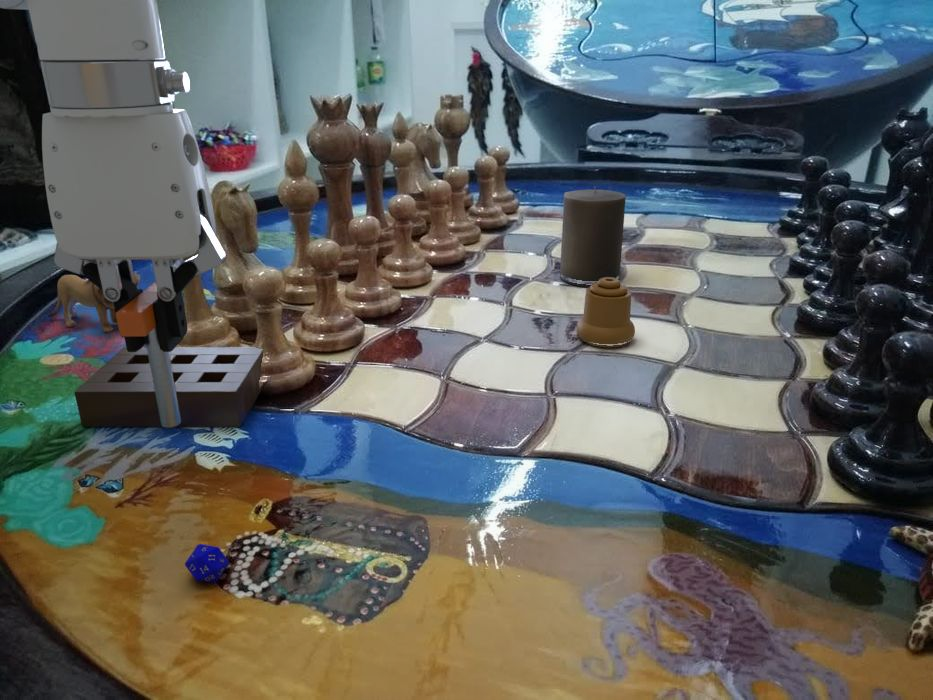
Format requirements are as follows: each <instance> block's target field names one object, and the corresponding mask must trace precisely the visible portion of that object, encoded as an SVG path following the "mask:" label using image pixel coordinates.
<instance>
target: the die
mask: <svg viewBox="0 0 933 700" xmlns="http://www.w3.org/2000/svg"><path fill="white" fill-rule="evenodd" d="M229 564H230V561H229V560H228V558H227V557H226V555H225V554H224V552H223V551H222V550H221V548H220V547H219V546H214V545H209V544H202V543H199V544H197V545H196V547H195V548H194V549H193V551H192V552H191V553H190V555H189V557H188V558H187V559H186V561H185V563H184V566H185V567H186V568H187V571H188V572H189V573H190V575H192V577H193V579H194V580H195V581H198V582H205V583H214V584H217V582H218V581H219V579H220V578H221V576H222V575H223V573H224V572H225V570H226V568H227V567H228V566H229Z"/></svg>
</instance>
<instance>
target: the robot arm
mask: <svg viewBox="0 0 933 700" xmlns="http://www.w3.org/2000/svg"><path fill="white" fill-rule="evenodd" d="M0 9H4V10H24V11H25V10H26V11H27V10H28V13H29V16H30V21H31V27H32V31H33V36H34V41H35V43H36V48H37V53H38V59H39V61H40V68H41V72H42V73H41V74H42V78H43V81H44V87H45V90H46V95H47V100H48V105H49V108H50V109H49V110H50V111H49V112H46V113H42V121H41V151H42V167H43V176H44V186H45V193H46V200H47V206H48V211H49V216H50V222H51V226H52V230H53V233H54V237H55V240H56V245H55V249H54V256H53V263H54V265H55V266H56V267H58V268H60V269H63V270H65V271H68V272H71V273H74V274H78V276H80V275H82V276H84V277H85V279H86V280H90V281H91V282H92V283H93V284H95V285H96V286H97V287H98V288H100V289H101V290H102V291H103V294H104V296H105V298H106V299H107V300H109V301H112V302H113V303H114V308H115V313H116V312H118V311H119V310H120V309H122V308H123V307H124V306H125V305H127V304H128V303H129V302H130V301H132V300H133V299H134V298H136V297H137V296H138V295H139V294H141V293H142V292H143V291H144V290H143V288H137V285H136V282H135V277H134V273H135V272H134V267H133V262H132V260H133V261H136V260H137V261H139V260H141V261H143V260H144V261H145V260H146V261H147V260H151V263H152V267H153V268H152V270H153V275H154V283H156V287H157V297H158V299H157V300H156V301H155V302H154V303H153V310H154V316H155V321H156V330H157V335H158V341H159V346H160V350H162V351H163V352H171V351H172V350H173V349H174V348H175V347H177V346H179V344H180V343H181V342H182V341H183V340H184V337H185V336H186V334H187V333H188V321H187V320H188V319H187V314H186V308H185V302H184V297H183V291H184V290H185V289H186V288H187V286H188V285H189V284H190V283H191V282H192V281H193V279H194V278H195V277H196V276H198V275H201V274H204V273H206V272H209V271H212V270H213V269H216V268H218V267H220V266H221V265H222V264H223V263H225V262H226V260H227V254H226V251H225V250H224V248H223V246H222V245H221V242H220V241H219V238H217V236H216V234H217V227H216V225H217V223H216V218H215V212H214V211H215V210H214V207H213V201H212V196H211V192H210V187H209V183H208V178H207V173H206V170H205V166H204V162H203V158H202V154H201V152H200V147H199V144H198V140H197V138H196V134H195V131H194V129H193V125H192V122H191V120H190V117H189V114H188V112H187V109H183V108H174V105H173V102H175V101H176V97H175V96H176V95H179V93H190V92H191V91H190V90H191V80H190V77H189V74H188V72H187V71H177V70H176V69H174V68H171V66H170V61H169V60H166V54H165V53H166V52H165V48H164V40H163V34H162V28H161V21H160V20H161V19H160V13H159V7H158V3H157V0H0ZM196 253H197V254H196ZM195 254H196V255H195ZM194 255H195V256H194ZM191 256H192V257H191ZM185 258H187V259H186V260H185ZM116 318H117V317H116ZM117 323H118V322H117ZM117 328H118V329H119V327H118V326H117ZM118 332H119V331H118ZM119 334H120V332H119ZM123 338H124V344H125V347H126V348H127V351H128V352H137V351H138V350H140V349H141V348H142V347H145V346H146V342H145V337H144V336H132V337H123Z"/></svg>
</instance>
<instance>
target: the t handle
mask: <svg viewBox="0 0 933 700" xmlns="http://www.w3.org/2000/svg"><path fill="white" fill-rule="evenodd" d="M157 299H158V297H157V287H156V282H153V283H151V285H150V286H148V287H147V288H146V289H145V290H143V292H142V293H141V294H139V295H138V296H137V297H136V298H134V299H133V300H132V301H130V302H129V303H128V304H127V305H125V306H124V307H123V308H122V309H120V310H119V311H118V312H116V317H117V322H118V325H117V328H118V327H119V328H118V332H120V333H119V336H120V337H121V338H124V337H132V336H144V337H145V342H146V344H145V347H147V352H148V358H149V363H150V368H151V373H152V379H153V384H154V389H155V394H156V400H157V405H158V410H159V415H160V421H161V425H162V426H163V427H162V428H166V429H169V428H176V427H175V426H177V425H179V424H180V423H181V417H180V411H179V406H178V400H177V395H176V389H175V383H174V378H173V372H172V366H171V361H170V355H169V352H163V351H162V350H160V346H159V341H158V335H157V330H156V321H155V316H154V310H153V303H154V302H155V301H156V300H157Z"/></svg>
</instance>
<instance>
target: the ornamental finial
mask: <svg viewBox="0 0 933 700" xmlns="http://www.w3.org/2000/svg"><path fill="white" fill-rule="evenodd" d="M584 297H585V298H584V307H583V314H582V315H583V316H582V317H581V318H580V319H579V320H578V322H577V324H576V333H577V336H578V335H579V336H578V337H579V339H580V340H581V341H582V342H584V343H586V344H588V345H590V346H593V347H597V348H598V347H599V348H607V349H609V348H610V349H611V348H620V347H623V346H626V345H627V344H630V342H631V341H632V340H633V339H634V337H635V334H636V327H635V325H634V322H633V321H632V319H631V311H632V310H631V307H632V291H631V290H630V289H629V288H628V287H627V285H625V284H624V283H621V280H620V279H619V280H618V279H616V278H611V277H605V278H601V279H599V281H598V282H595V283H593V284H592V285H591V287H586V290H585V296H584ZM581 338H582V339H581ZM632 338H633V339H632ZM584 340H586V341H584ZM630 340H631V341H630ZM587 341H588V342H587ZM628 341H630V342H628ZM589 342H593V343H599V344H618V343H624V342H628V343H625V344H622V345H613V346H607V345H597V344H593V343H589Z"/></svg>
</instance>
